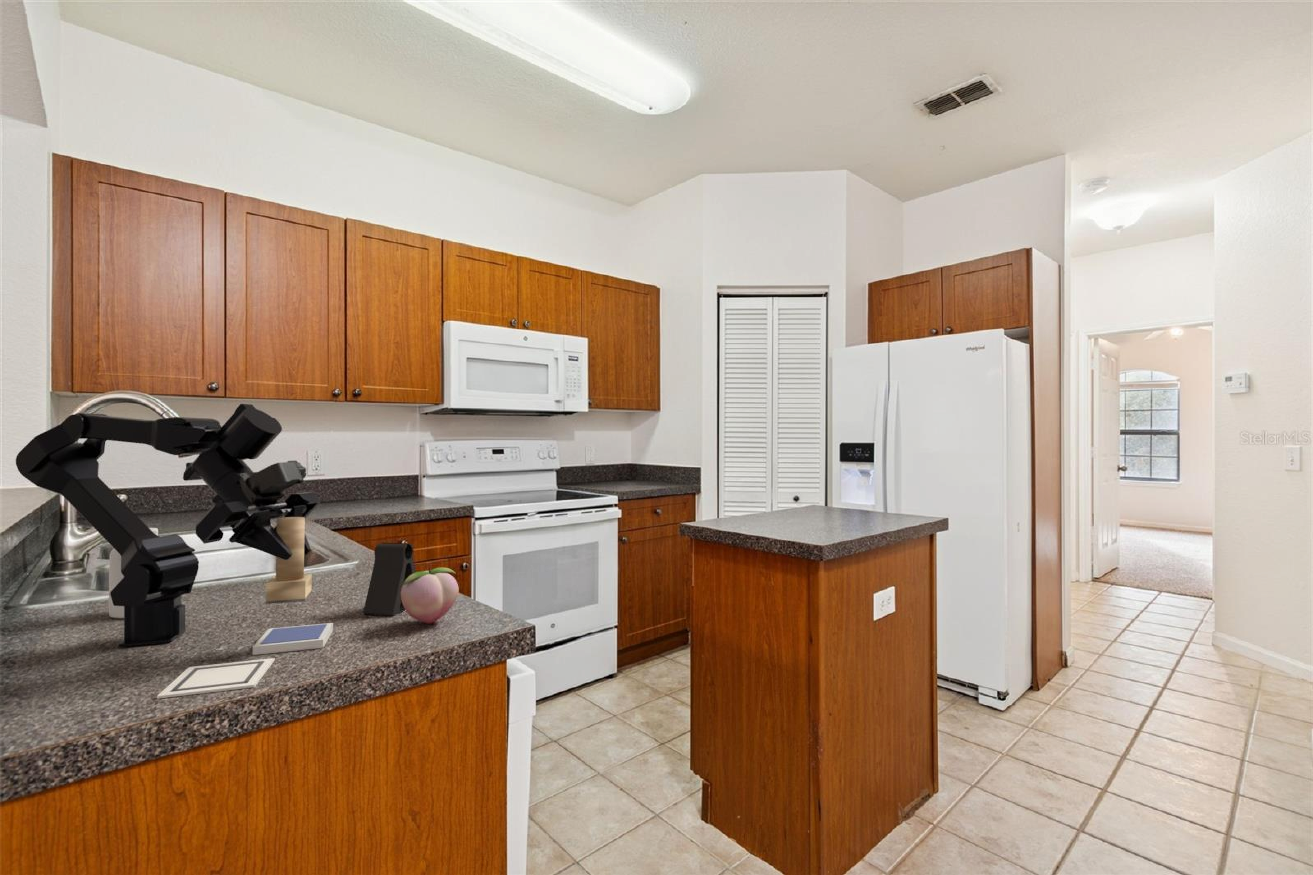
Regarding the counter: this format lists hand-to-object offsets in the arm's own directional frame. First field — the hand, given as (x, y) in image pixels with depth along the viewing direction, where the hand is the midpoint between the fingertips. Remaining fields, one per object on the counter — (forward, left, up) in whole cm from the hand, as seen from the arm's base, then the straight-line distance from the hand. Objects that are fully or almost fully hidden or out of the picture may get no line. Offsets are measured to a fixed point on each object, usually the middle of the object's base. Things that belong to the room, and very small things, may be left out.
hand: (298, 555), depth 91 cm
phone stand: (+12, +18, -14) cm, 25 cm away
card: (-7, -10, -14) cm, 18 cm away
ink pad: (-1, +3, -14) cm, 14 cm away
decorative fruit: (+18, +6, -14) cm, 23 cm away
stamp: (-1, +1, -6) cm, 7 cm away
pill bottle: (-31, +31, -14) cm, 46 cm away
